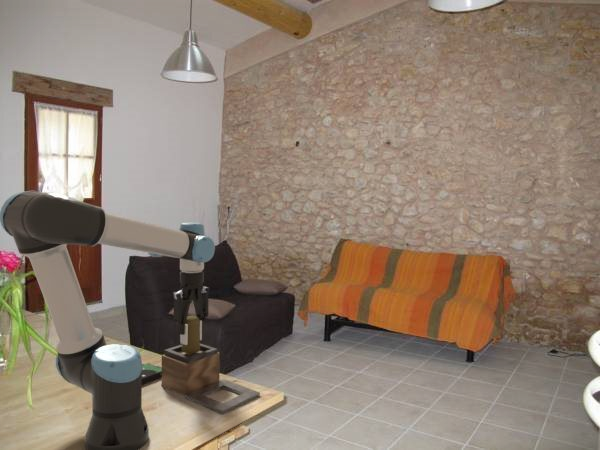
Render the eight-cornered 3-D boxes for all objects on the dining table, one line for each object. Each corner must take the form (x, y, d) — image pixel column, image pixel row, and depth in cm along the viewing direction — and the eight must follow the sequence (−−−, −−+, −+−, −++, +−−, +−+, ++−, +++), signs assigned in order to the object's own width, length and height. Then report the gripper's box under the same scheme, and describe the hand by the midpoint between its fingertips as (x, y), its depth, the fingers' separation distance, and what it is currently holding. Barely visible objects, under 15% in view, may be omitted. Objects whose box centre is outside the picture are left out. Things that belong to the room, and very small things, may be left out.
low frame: (222, 414, 140) (222, 410, 140) (185, 398, 149) (185, 394, 149) (259, 395, 153) (259, 392, 152) (223, 381, 162) (223, 378, 162)
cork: (189, 354, 155) (190, 320, 154) (177, 350, 158) (177, 316, 157) (204, 349, 159) (204, 316, 158) (192, 345, 163) (192, 313, 162)
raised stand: (186, 396, 151) (186, 359, 150) (161, 385, 158) (161, 350, 157) (219, 382, 162) (219, 348, 161) (195, 372, 169) (195, 340, 168)
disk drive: (130, 391, 154) (167, 376, 166) (130, 383, 154) (167, 368, 166) (110, 383, 160) (147, 369, 172) (110, 375, 160) (147, 361, 172)
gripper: (176, 276, 147) (176, 351, 149) (220, 268, 162) (219, 337, 164) (161, 272, 152) (160, 345, 154) (205, 265, 166) (204, 332, 168)
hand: (191, 341), depth 159 cm, fingers closed on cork, 5 cm apart
